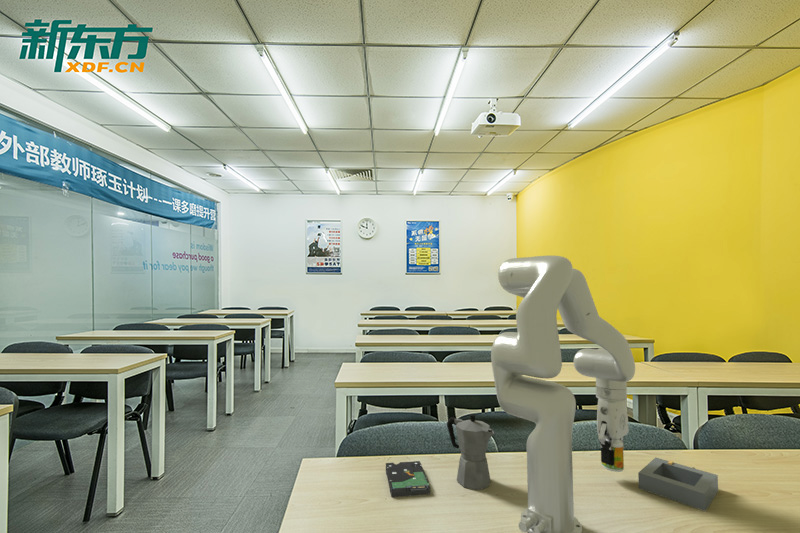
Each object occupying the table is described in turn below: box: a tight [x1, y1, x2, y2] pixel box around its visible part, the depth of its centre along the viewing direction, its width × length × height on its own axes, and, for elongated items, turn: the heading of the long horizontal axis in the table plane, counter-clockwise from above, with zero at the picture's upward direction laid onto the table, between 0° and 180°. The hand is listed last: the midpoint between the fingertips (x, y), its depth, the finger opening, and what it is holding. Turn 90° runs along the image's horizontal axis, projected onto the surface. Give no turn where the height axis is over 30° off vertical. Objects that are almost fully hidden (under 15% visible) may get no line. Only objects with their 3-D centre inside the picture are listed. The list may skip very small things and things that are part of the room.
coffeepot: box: [446, 413, 495, 491], centre depth 107 cm, size 15×9×18 cm, turn 45°
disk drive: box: [385, 460, 431, 498], centre depth 106 cm, size 10×3×15 cm
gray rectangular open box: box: [637, 456, 719, 512], centre depth 104 cm, size 23×14×4 cm, turn 131°
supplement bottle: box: [600, 434, 625, 473], centre depth 106 cm, size 5×5×10 cm
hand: (612, 460), depth 106 cm, fingers closed on supplement bottle, 5 cm apart
